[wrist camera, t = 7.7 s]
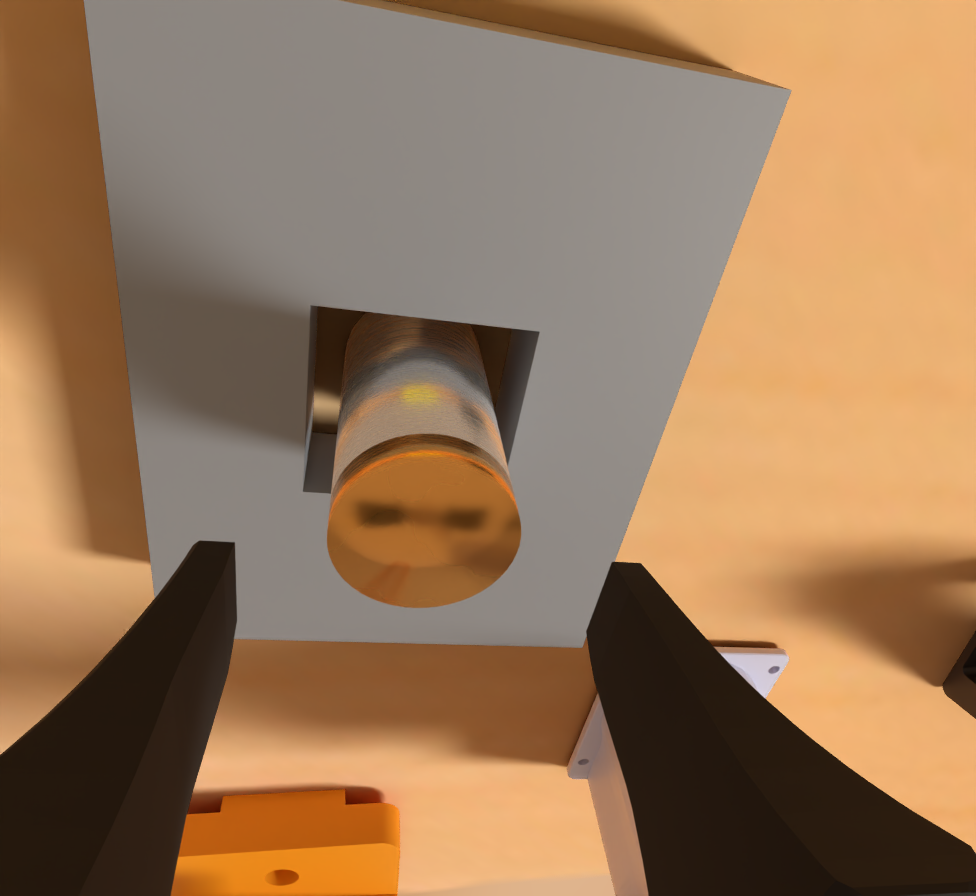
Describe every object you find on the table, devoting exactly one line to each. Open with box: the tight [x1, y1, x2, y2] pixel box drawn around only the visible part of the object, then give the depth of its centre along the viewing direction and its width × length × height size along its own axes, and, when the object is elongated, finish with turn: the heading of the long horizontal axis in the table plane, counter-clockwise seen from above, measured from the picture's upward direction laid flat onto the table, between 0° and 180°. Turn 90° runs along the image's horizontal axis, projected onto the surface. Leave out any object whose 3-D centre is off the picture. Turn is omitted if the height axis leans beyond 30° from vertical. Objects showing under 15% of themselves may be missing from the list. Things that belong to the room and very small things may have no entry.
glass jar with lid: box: [327, 312, 521, 608], centre depth 18 cm, size 4×4×8 cm
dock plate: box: [84, 0, 792, 648], centre depth 20 cm, size 18×14×3 cm
